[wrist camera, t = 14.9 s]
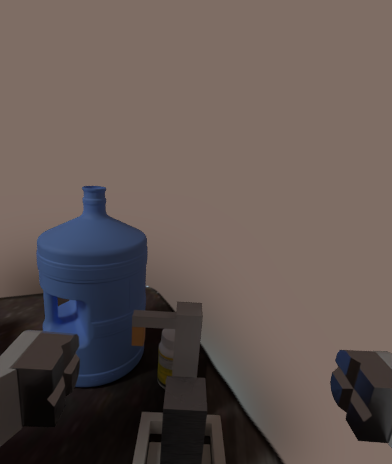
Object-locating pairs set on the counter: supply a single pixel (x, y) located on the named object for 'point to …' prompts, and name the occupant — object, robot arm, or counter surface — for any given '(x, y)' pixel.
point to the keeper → (184, 365)
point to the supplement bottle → (165, 356)
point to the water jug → (95, 287)
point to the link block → (183, 420)
